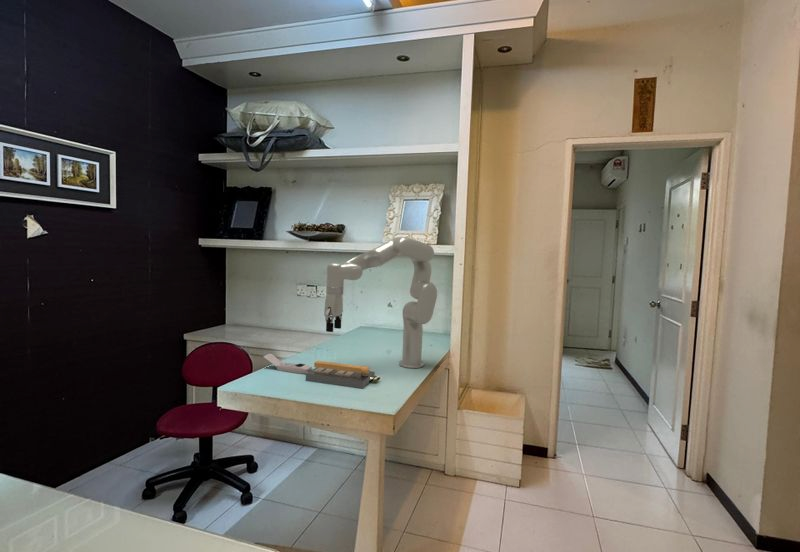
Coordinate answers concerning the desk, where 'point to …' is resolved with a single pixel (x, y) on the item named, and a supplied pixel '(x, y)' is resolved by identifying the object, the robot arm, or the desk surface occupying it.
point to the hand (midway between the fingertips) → (333, 329)
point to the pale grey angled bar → (288, 365)
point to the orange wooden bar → (342, 367)
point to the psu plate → (339, 377)
